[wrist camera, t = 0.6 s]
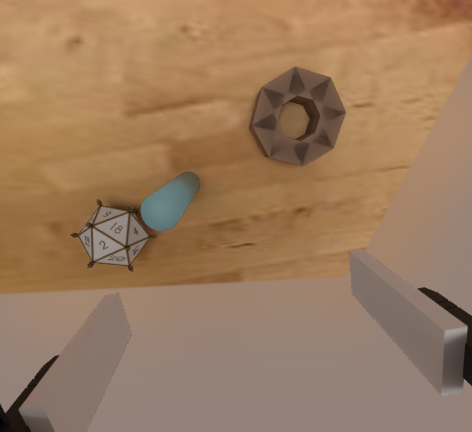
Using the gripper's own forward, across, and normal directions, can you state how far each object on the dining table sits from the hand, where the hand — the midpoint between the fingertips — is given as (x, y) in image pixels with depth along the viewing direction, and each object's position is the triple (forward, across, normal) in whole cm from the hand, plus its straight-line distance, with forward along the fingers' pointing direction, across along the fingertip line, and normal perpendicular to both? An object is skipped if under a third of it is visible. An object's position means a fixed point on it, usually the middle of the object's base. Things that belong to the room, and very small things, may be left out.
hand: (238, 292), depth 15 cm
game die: (+23, -14, -1) cm, 27 cm away
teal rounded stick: (+23, -5, +4) cm, 23 cm away
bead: (+22, +10, +9) cm, 26 cm away
